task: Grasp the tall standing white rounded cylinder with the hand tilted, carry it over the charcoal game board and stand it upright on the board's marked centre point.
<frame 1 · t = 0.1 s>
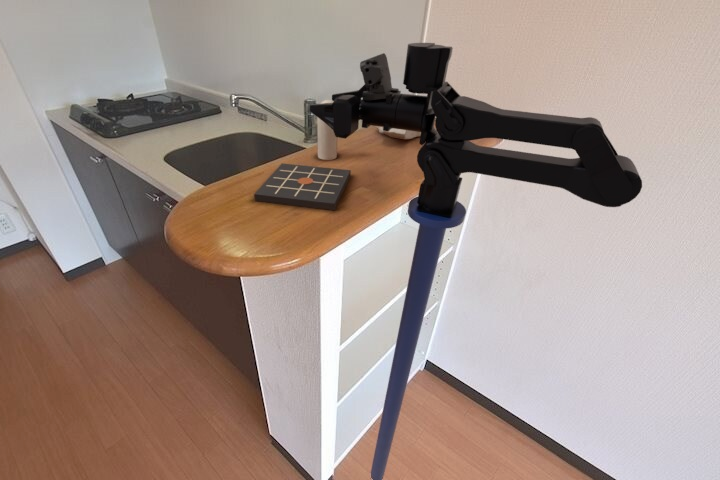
hand: (321, 102, 68), 15 cm above the counter, tool horizontal, fingers open, 9 cm apart
rock: (396, 135, 101), on the counter
game board: (305, 187, 73), on the counter
white rounded cylinder: (327, 156, 88), on the counter
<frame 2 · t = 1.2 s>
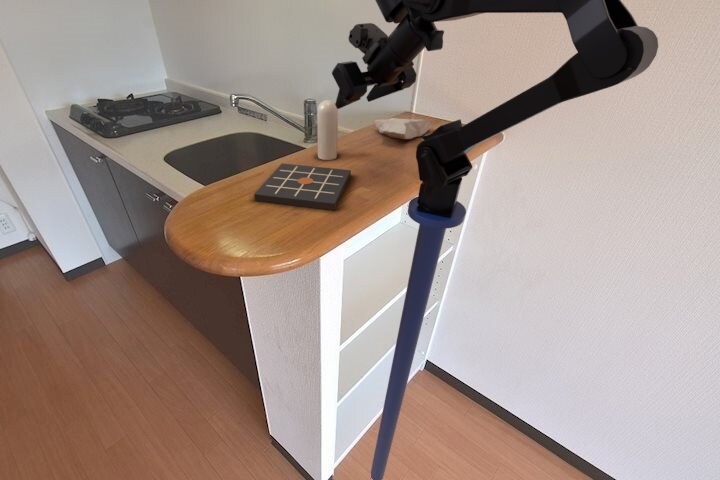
hand: (352, 103, 74), 14 cm above the counter, tool tilted 45°, fingers open, 9 cm apart
nothing on the counter moved.
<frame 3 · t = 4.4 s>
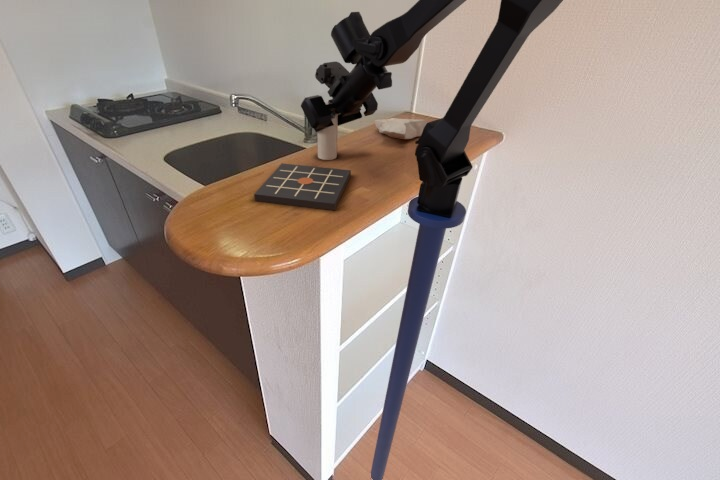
hand: (323, 127, 84), 7 cm above the counter, tool tilted 45°, fingers closed on white rounded cylinder, 5 cm apart
white rounded cylinder: (327, 156, 88), on the counter, touching gripper
everything else where it was.
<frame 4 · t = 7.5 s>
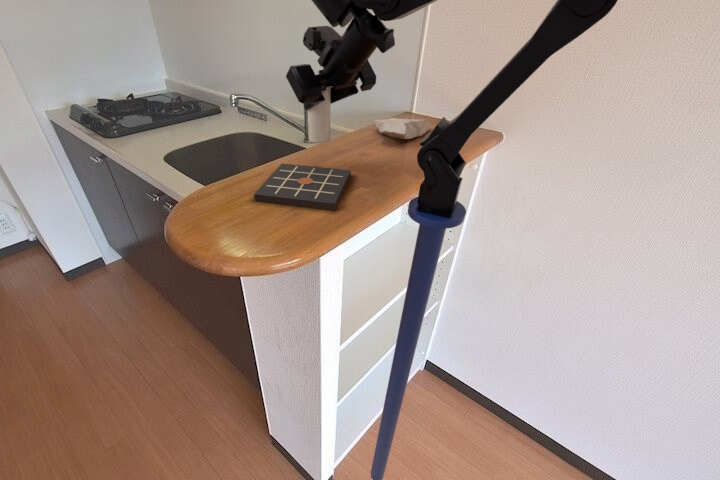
hand: (314, 105, 74), 13 cm above the counter, tool tilted 45°, fingers closed on white rounded cylinder, 5 cm apart
white rounded cylinder: (319, 139, 77), point 7 cm above the counter, touching gripper
everything else where it was.
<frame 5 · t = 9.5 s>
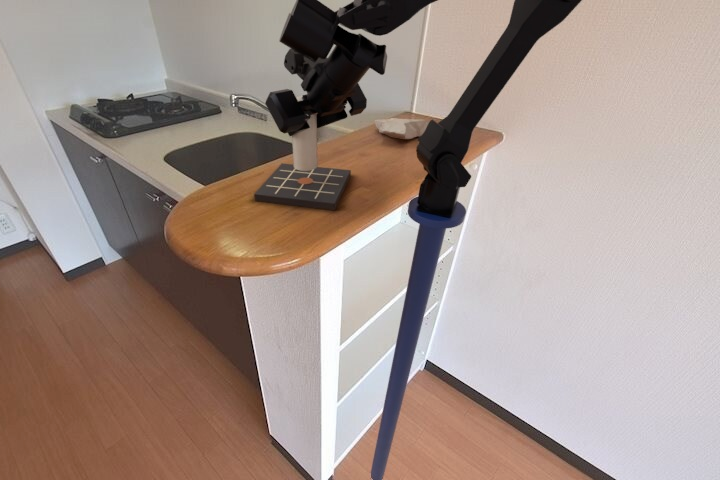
hand: (299, 131, 67), 11 cm above the counter, tool tilted 45°, fingers closed on white rounded cylinder, 5 cm apart
white rounded cylinder: (305, 166, 71), point 5 cm above the counter, touching gripper
everything else where it was.
when the fingers open (8 cm above the counter, at t = 10.9 s): white rounded cylinder stays where it is, resting on game board.
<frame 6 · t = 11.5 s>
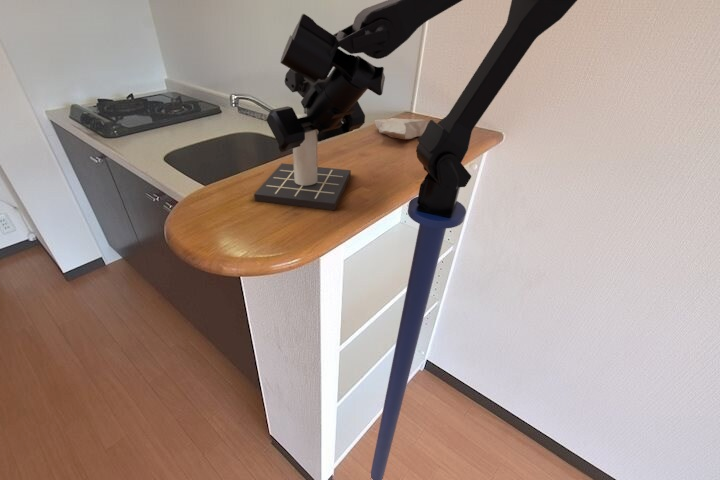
hand: (299, 144, 69), 9 cm above the counter, tool tilted 45°, fingers open, 9 cm apart
white rounded cylinder: (305, 180, 72), point 2 cm above the counter, touching game board
everything else where it was.
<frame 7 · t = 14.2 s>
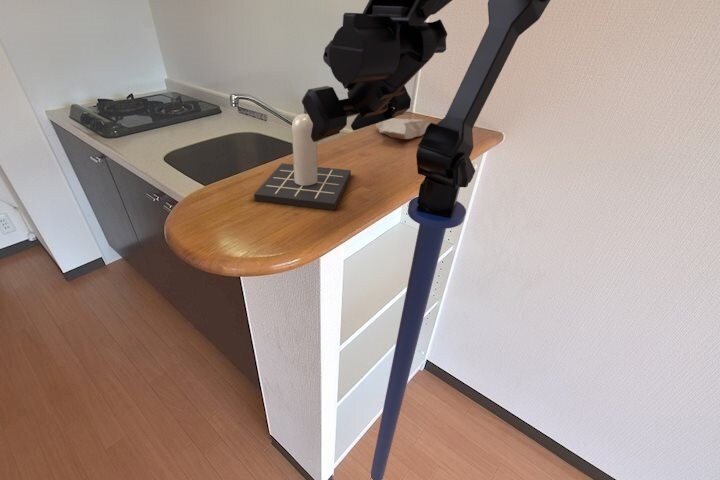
hand: (333, 133, 61), 13 cm above the counter, tool tilted 45°, fingers open, 9 cm apart
nothing on the counter moved.
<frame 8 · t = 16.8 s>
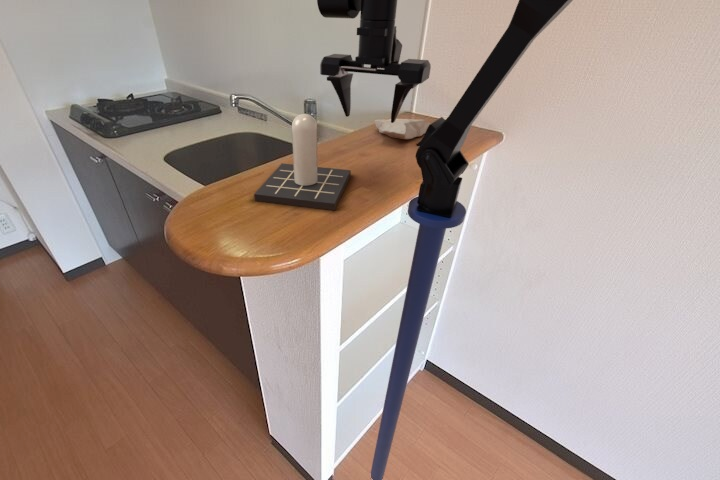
hand: (369, 119, 67), 13 cm above the counter, tool pointing down, fingers open, 9 cm apart
nothing on the counter moved.
at the end: white rounded cylinder 0.1 cm off-centre on the game board, point 1.6 cm above the game board's base; white rounded cylinder tilted 0°; the gripper is holding nothing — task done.
